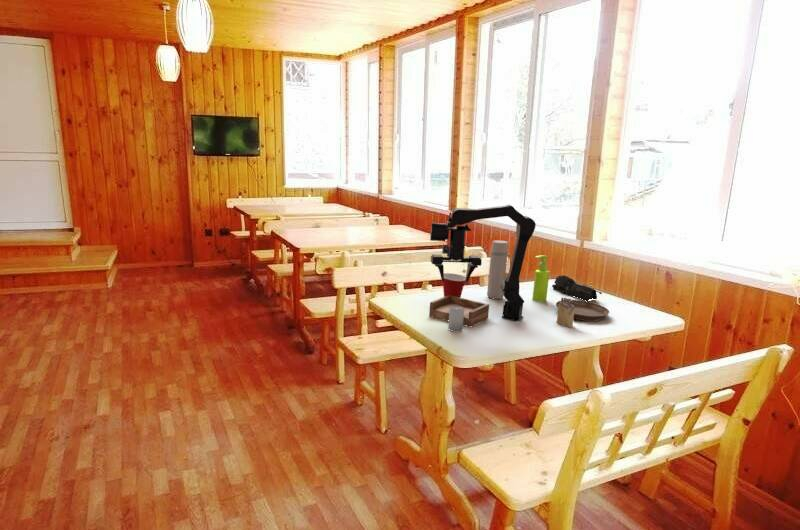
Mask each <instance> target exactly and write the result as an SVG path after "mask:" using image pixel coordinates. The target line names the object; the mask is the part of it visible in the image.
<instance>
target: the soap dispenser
mask: <svg viewBox="0 0 800 530" xmlns="http://www.w3.org/2000/svg"><path fill="white" fill-rule="evenodd" d="M534 257H535V258H537V259H540V258H541V261H540V262H538V263H539V264H538V269H536V270H535V271H534V273H535V274H534V282H533V290H532V301H534V300H535V301H534V302H538V301H540V302H539V303H543V302H544V301H545V302H547V296H548V288H549V287H548V286H549V279H550V270H548V263H547V258H549V256H547V255H543V254H540V255H536V256H534ZM542 301H543V302H542Z"/></svg>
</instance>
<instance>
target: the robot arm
mask: <svg viewBox="0 0 800 530" xmlns="http://www.w3.org/2000/svg"><path fill="white" fill-rule="evenodd" d="M503 217H508V218H509V219H510V220H512V221H513V222H514V223H515V224H516V227H515V228H516V229H515V231H516V232H515V233H516V239H515V244H514V249H513V253H512V257H511V262H510V264H509V268H508V273H507V275H506V276H505V278H502V284H501V286H500V288H501V292H502V294H503V298H505V299H506V301H504V304H503V307H502V316H501V318H502V319H506V320H510V321H514V322H518V321H520V320H522V319H523V318H524V316H523V308H524V303H525V301H524V299H523V297H522V296H521V295H520V276H521V271H522V267H523V263H524V259H525V255H526V250H527V247H528V242H529V241H530V240H531V238H532V236H533V234H534V232H535V230H536V222H535V220H534V219H533V218H531V217H530V216H527V215H523V214H521V213H520V212H519V211H518V210H517V209H515V207H514V206H512V204H506V205H500V206H493V207H492V206H490V207H483V208H467V207H464V208H463V207H455V208H454V209H453V210H452V211H451V213H450V217H449V218H448V219H447V220H446V222H445V223H440V222H439V223H438V222H431V228H430V232H429V233H430V235H429V236H430V239H429V241H431V242H433V241H434V242H446V240H448V239H449V245H447V244H443V245H442V250H441V251H442V252H441V253H442V254H445V255H446V256H443V255H442V254H434V253H433V254H431V256H430V263H431V265H434V266H435V267H437V268H438V271H439V275H440V279H441V282H442V283H443V280H444V272H445V271H444V265H443V263H466V264H467V268H466V275H465V277H466V281H465V283H468V281H469V279H470V278H471V275H472V274H473V272H474V271H475V269H476V268H477V269H478V266H479V267H481V266H482V258H481V257H480V256H479V255H470V254H469V255H468V257H465V244H466V232H471V231H472V229H471V228H470V227H469V225H468V224H469V223H471V222H474V221H478V220H485V219H494V218H495V219H496V218H503Z"/></svg>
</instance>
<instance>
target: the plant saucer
mask: <svg viewBox="0 0 800 530" xmlns="http://www.w3.org/2000/svg"><path fill="white" fill-rule="evenodd" d="M571 300H572V301H573V303H570V304H572V305H574V306H575V308H574V309H575V311H574V319H575V320H579V321H587V322H592V321H593V322H595V321H596V320H597V321H601V320H603V319H605V318H606V317H607V316H608V315H609V314H610V310H609V309H608V308H607V307H605V306H603V305H601V304H598V303H594V302H592V301H589V302H586V301H583V300H580V299H571ZM559 302H561V300H559V301H556V303H555V306H556V309H558V307H559ZM563 302H564V300H563ZM566 302H567V301H566ZM567 303H568V302H567ZM574 319H573V320H574Z"/></svg>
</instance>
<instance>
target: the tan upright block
mask: <svg viewBox="0 0 800 530" xmlns="http://www.w3.org/2000/svg"><path fill="white" fill-rule="evenodd" d="M563 300H564V302H563ZM572 300H573V299H572V298H567V297H561V299H560V301H561V302H559V307H558V308H557V316H556V317H557V318H556V323H557V324H559V325H561V326H564V327H567V328H572V327H573V324H574V311H575V309H574V308H575V306H574V305H572V304H570V303H573V301H572ZM566 301H567V302H568V303H567V302H566Z"/></svg>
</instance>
